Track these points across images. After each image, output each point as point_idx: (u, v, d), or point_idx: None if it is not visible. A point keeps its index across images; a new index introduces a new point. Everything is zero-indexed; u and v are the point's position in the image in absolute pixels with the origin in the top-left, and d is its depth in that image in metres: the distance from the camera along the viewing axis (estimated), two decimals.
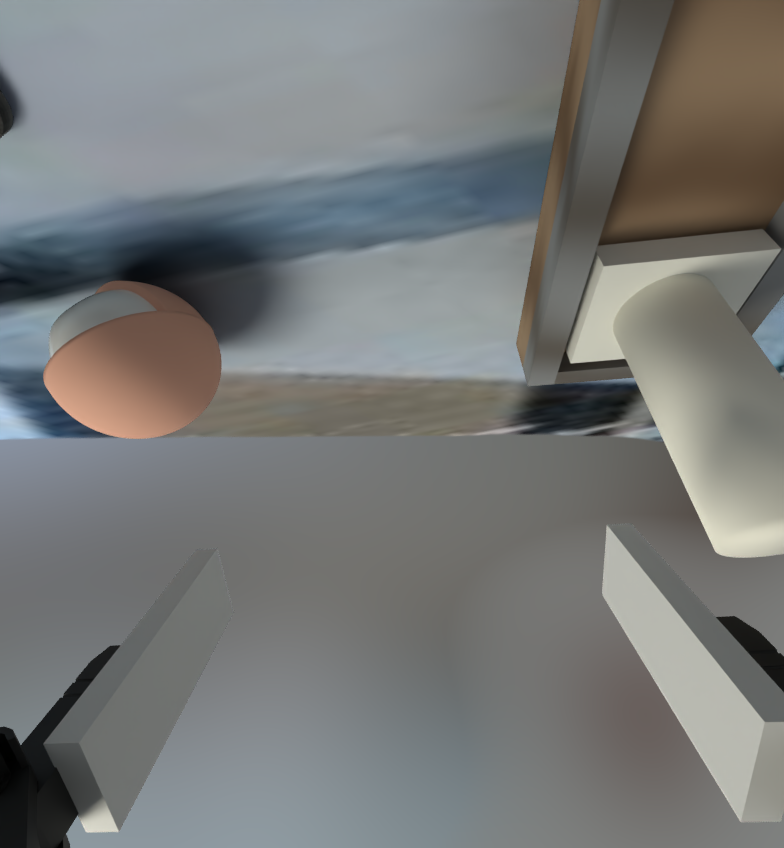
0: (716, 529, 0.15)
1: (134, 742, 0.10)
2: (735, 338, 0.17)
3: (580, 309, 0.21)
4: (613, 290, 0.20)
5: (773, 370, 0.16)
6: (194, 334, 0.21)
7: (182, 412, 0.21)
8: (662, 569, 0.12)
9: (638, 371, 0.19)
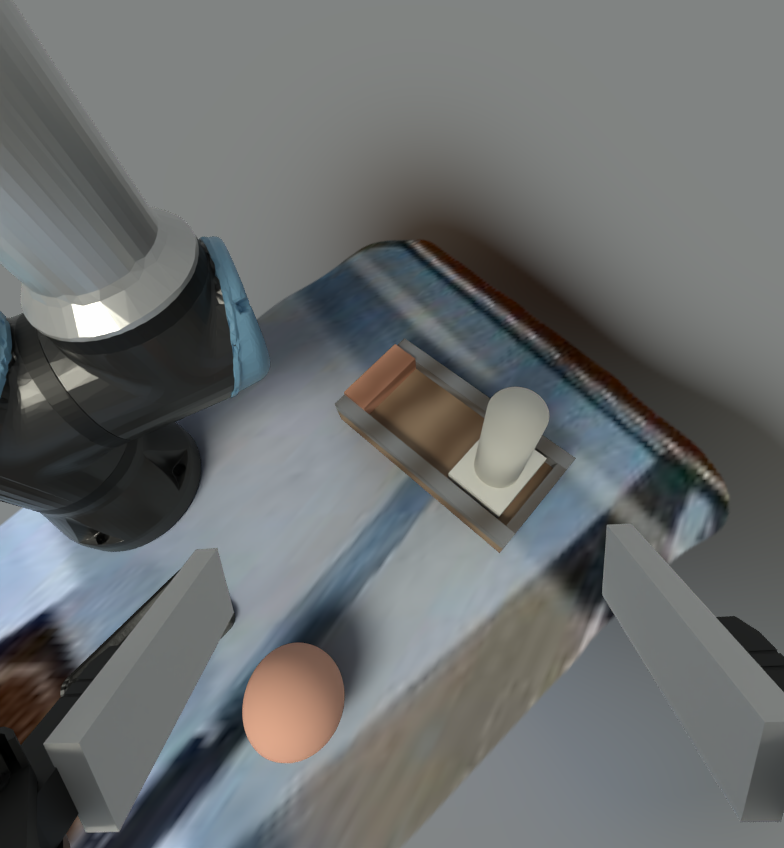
0: (499, 436, 0.31)
1: (134, 742, 0.10)
2: None
3: (473, 495, 0.41)
4: (465, 475, 0.41)
5: None
6: (315, 646, 0.36)
7: (317, 685, 0.32)
8: (662, 569, 0.12)
9: (488, 471, 0.38)
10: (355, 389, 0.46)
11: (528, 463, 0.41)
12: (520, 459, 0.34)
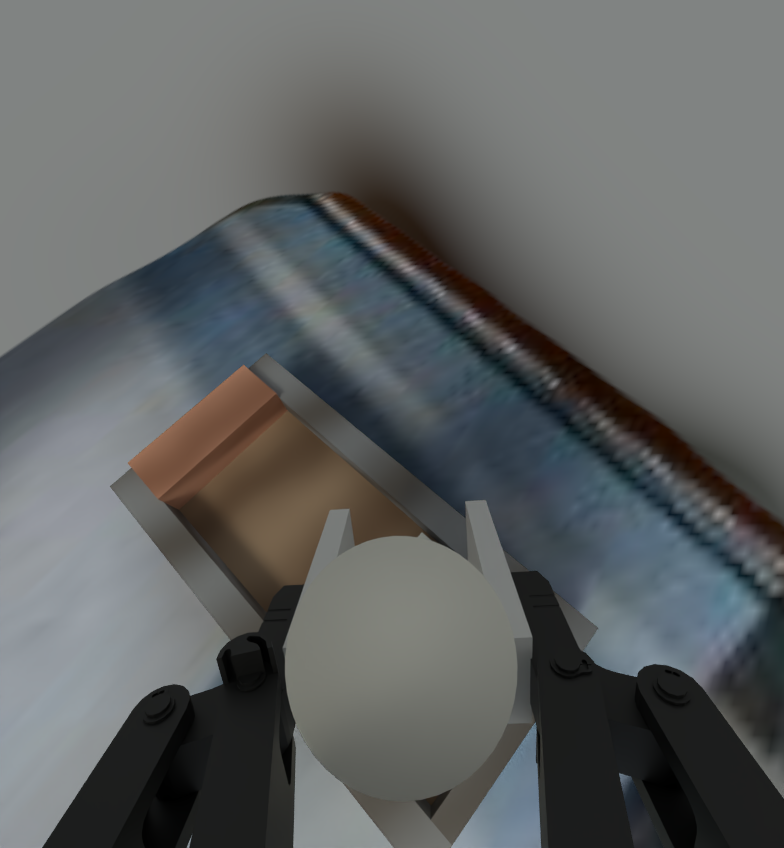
0: None
1: None
2: None
3: None
4: None
5: None
6: None
7: None
8: (489, 534, 0.14)
9: None
10: (151, 457, 0.23)
11: None
12: None
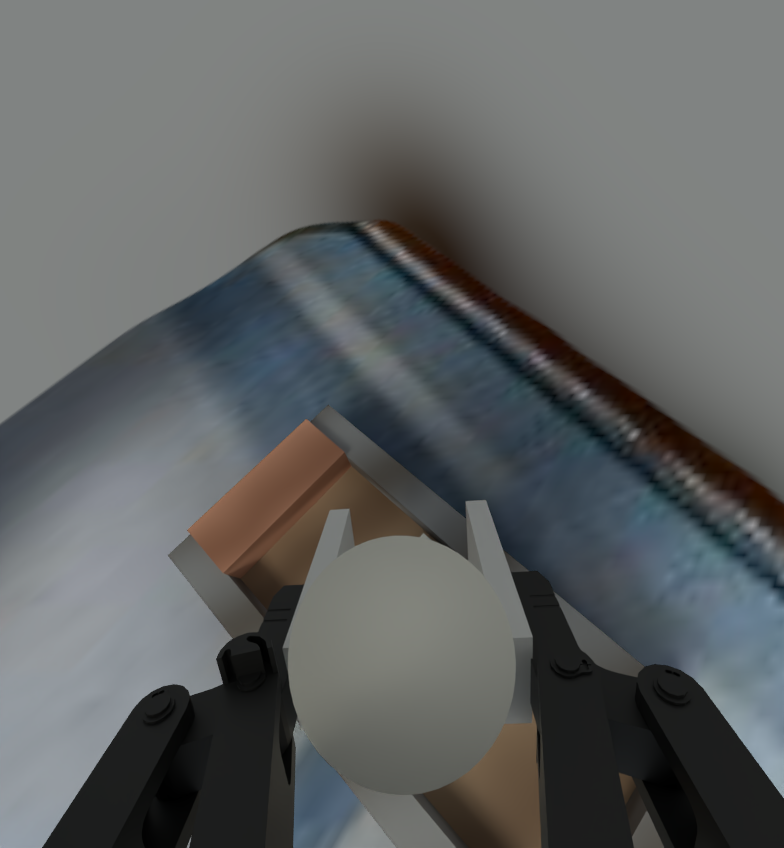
0: None
1: None
2: None
3: None
4: None
5: None
6: None
7: None
8: (489, 534, 0.14)
9: None
10: (212, 524, 0.21)
11: None
12: None
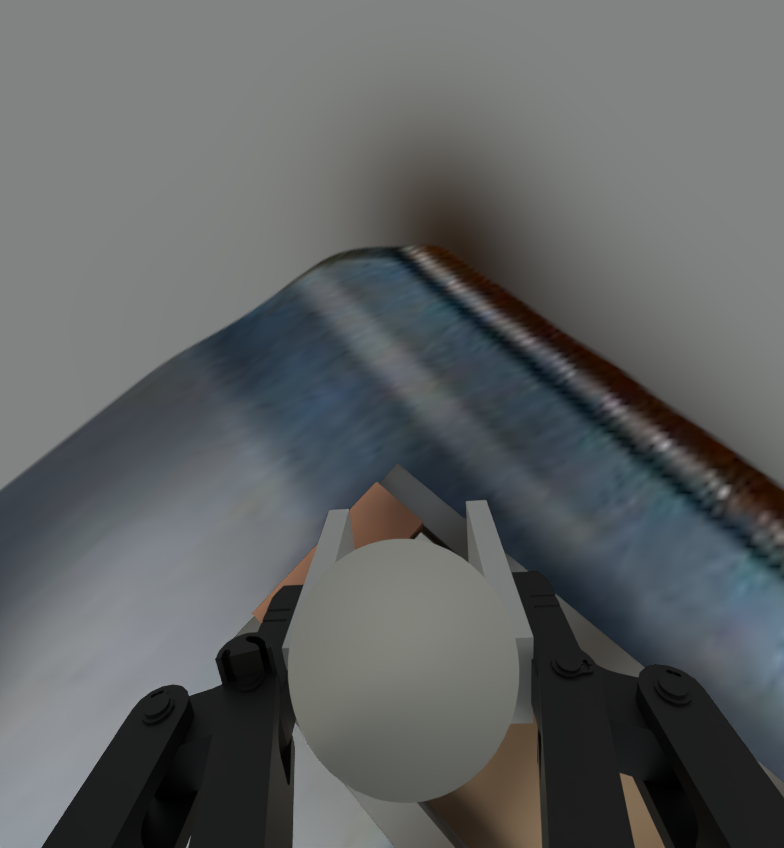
0: None
1: None
2: None
3: None
4: None
5: None
6: None
7: None
8: (490, 534, 0.14)
9: None
10: None
11: None
12: None
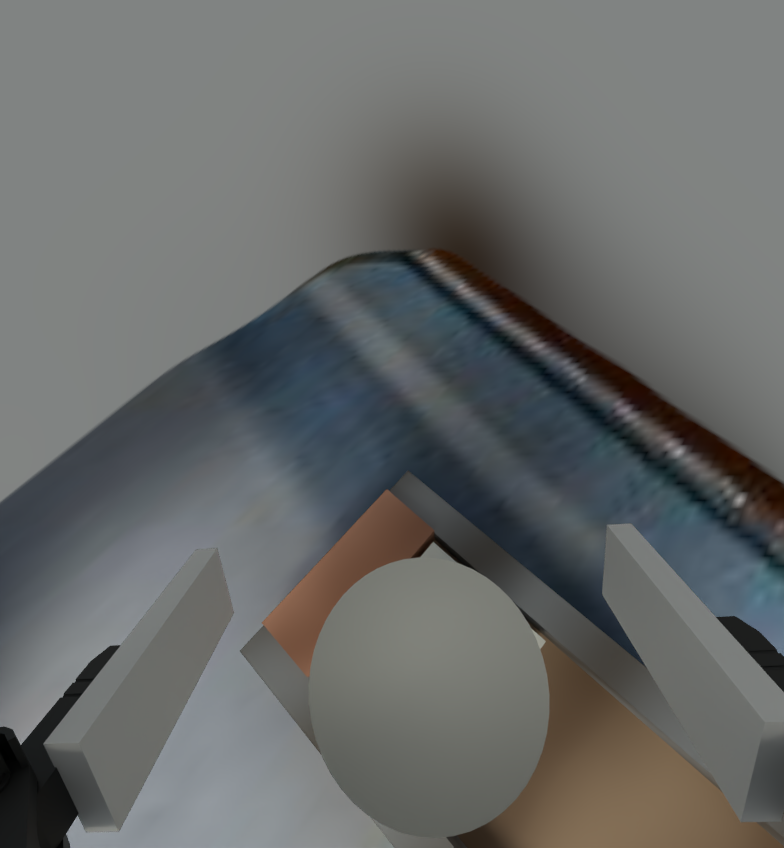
0: None
1: (134, 742, 0.10)
2: None
3: None
4: None
5: None
6: None
7: None
8: (662, 569, 0.12)
9: None
10: (290, 615, 0.19)
11: None
12: None
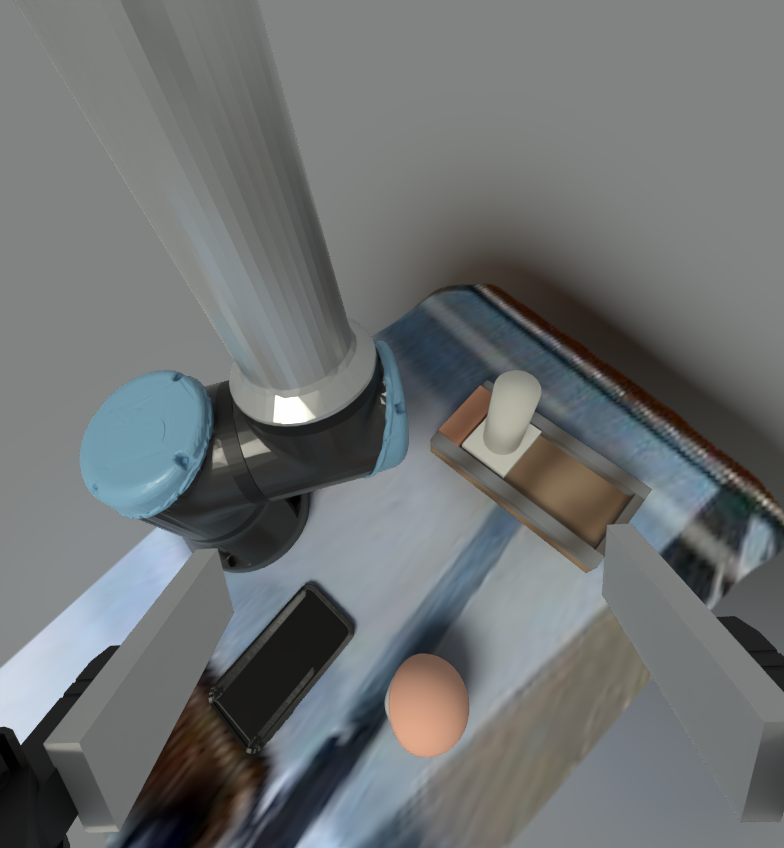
0: (503, 407, 0.41)
1: (134, 742, 0.10)
2: None
3: (482, 462, 0.51)
4: (475, 445, 0.51)
5: None
6: (439, 657, 0.41)
7: (452, 690, 0.38)
8: (662, 569, 0.12)
9: (495, 440, 0.47)
10: (448, 426, 0.52)
11: (526, 435, 0.51)
12: (520, 427, 0.44)
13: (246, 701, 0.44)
